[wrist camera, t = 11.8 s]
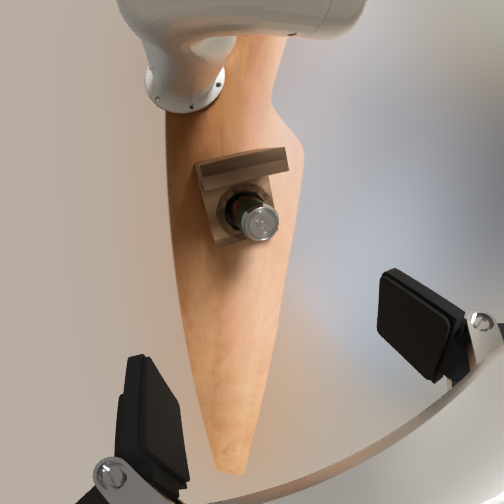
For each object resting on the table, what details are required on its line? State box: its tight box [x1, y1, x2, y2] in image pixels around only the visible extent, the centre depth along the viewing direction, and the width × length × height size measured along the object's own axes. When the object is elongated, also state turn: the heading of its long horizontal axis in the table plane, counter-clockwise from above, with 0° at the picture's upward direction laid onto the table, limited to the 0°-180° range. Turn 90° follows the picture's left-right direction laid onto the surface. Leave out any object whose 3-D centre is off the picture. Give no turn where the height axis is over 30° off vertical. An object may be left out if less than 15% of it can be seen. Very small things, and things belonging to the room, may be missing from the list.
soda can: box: [227, 193, 279, 241], centre depth 39 cm, size 5×5×12 cm
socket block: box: [194, 147, 289, 248], centre depth 38 cm, size 14×10×12 cm
